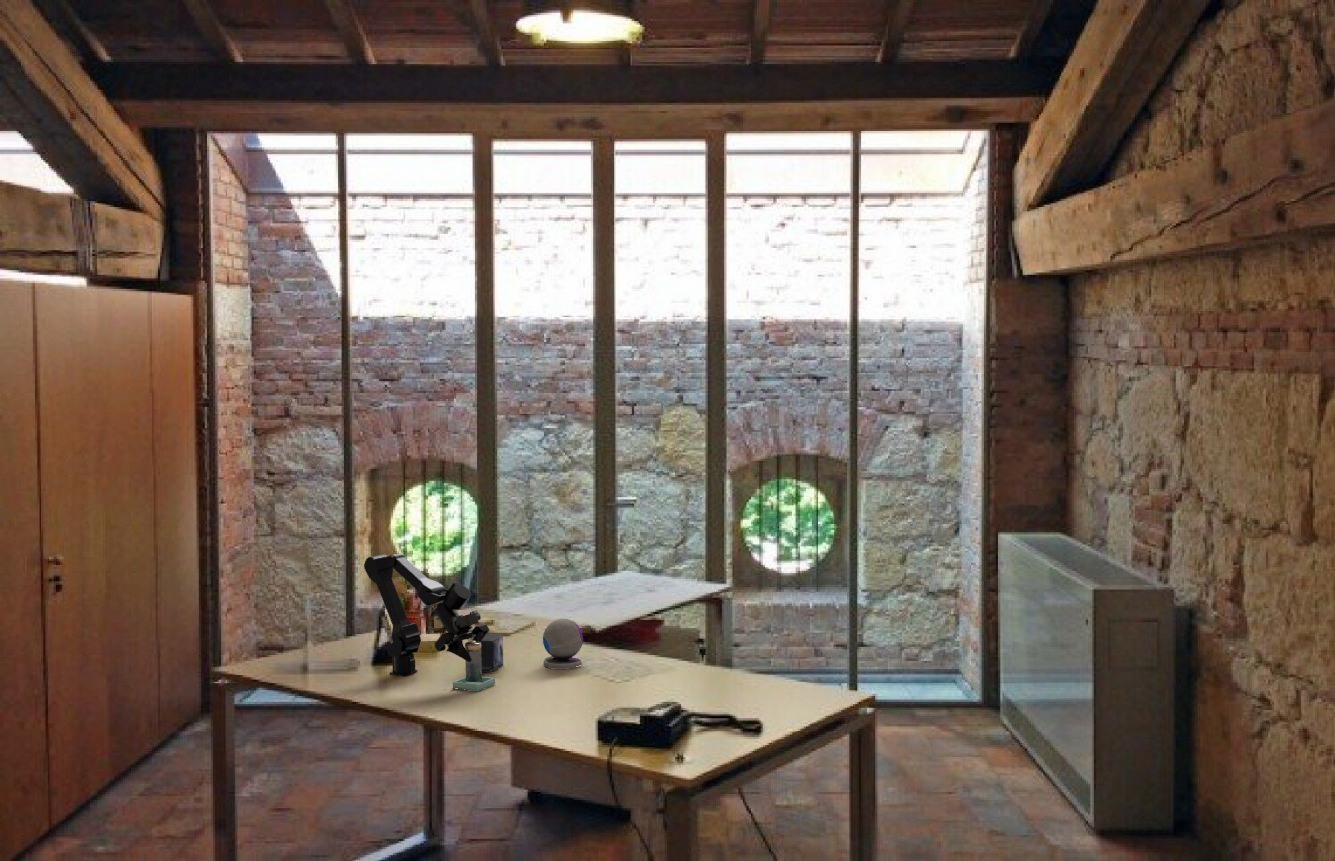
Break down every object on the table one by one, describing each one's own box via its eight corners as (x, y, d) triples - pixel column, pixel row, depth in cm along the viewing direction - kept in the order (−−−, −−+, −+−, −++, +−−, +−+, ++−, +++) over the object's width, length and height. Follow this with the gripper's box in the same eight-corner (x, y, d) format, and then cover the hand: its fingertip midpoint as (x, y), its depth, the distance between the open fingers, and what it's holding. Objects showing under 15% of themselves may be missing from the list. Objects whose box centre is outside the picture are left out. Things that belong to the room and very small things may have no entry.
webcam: (588, 667, 464) (587, 621, 463) (550, 671, 459) (549, 624, 458) (575, 658, 476) (574, 613, 475) (538, 662, 471) (537, 617, 470)
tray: (452, 688, 439) (452, 682, 439) (469, 681, 447) (469, 675, 447) (478, 691, 435) (478, 685, 435) (495, 684, 443) (494, 678, 443)
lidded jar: (464, 682, 439) (463, 643, 438) (467, 678, 444) (466, 639, 443) (480, 682, 439) (479, 643, 438) (483, 678, 444) (482, 639, 443)
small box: (494, 673, 458) (493, 640, 457) (474, 672, 459) (473, 640, 458) (504, 665, 468) (503, 633, 467) (485, 664, 469) (484, 632, 469)
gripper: (440, 608, 434) (467, 649, 429) (484, 598, 449) (511, 638, 443) (423, 630, 440) (449, 671, 434) (467, 620, 455) (493, 659, 449)
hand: (476, 659), depth 440 cm, fingers closed on lidded jar, 5 cm apart
